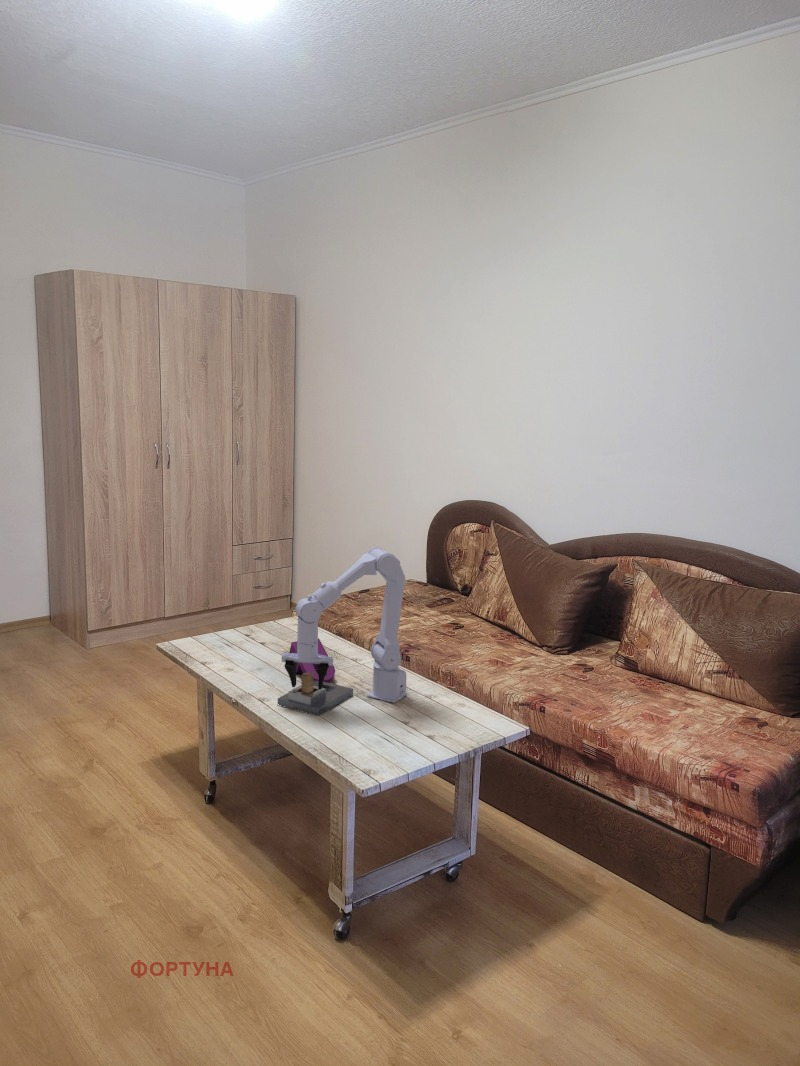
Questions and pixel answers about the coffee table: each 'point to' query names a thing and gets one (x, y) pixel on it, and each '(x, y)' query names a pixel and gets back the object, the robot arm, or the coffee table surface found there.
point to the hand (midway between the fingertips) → (307, 687)
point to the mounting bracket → (311, 666)
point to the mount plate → (316, 698)
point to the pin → (307, 683)
